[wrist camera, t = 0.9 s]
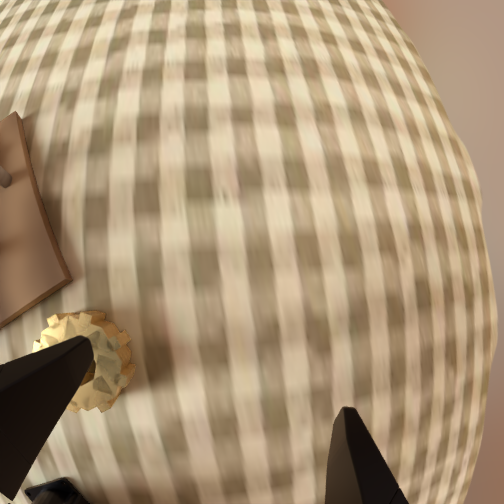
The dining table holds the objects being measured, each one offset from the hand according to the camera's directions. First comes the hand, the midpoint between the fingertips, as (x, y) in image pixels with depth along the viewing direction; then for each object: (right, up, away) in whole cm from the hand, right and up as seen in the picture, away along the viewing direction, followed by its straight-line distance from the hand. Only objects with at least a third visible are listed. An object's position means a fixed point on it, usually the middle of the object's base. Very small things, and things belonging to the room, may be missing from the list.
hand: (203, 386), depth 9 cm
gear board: (-21, +7, +9) cm, 24 cm away
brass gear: (-10, -3, +10) cm, 14 cm away
